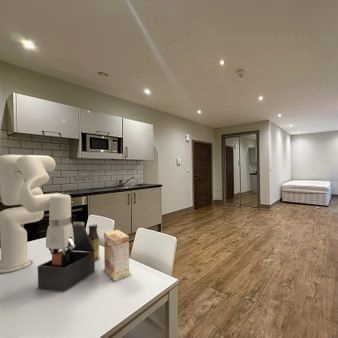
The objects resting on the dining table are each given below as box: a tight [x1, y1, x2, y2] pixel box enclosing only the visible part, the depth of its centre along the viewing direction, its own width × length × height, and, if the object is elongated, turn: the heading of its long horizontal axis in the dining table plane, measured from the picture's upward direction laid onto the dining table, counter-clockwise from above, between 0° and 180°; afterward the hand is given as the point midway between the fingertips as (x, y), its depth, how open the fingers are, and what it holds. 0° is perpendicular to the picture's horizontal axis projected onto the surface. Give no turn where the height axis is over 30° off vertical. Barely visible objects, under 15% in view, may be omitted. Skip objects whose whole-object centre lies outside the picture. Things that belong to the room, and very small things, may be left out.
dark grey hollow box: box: [37, 251, 96, 292], centre depth 90 cm, size 16×14×10 cm
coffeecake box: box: [103, 229, 130, 282], centre depth 96 cm, size 15×7×20 cm, turn 47°
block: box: [51, 250, 63, 265], centre depth 87 cm, size 4×4×4 cm
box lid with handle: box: [72, 221, 95, 252], centre depth 97 cm, size 16×14×5 cm
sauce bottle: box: [87, 223, 100, 261], centre depth 110 cm, size 7×6×20 cm
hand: (60, 261), depth 87 cm, fingers closed on block, 4 cm apart
